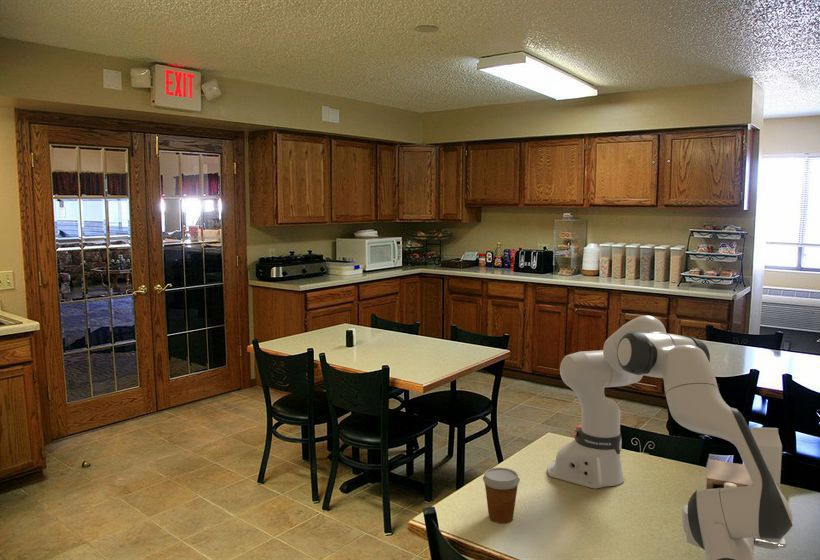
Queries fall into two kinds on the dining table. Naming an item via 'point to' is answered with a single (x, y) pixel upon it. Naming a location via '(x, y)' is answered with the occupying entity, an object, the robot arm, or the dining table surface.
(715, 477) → the walnut cubby
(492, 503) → the disposable coffee cup
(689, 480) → the dining table surface
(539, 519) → the dining table surface
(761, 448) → the milk carton
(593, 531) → the dining table surface
